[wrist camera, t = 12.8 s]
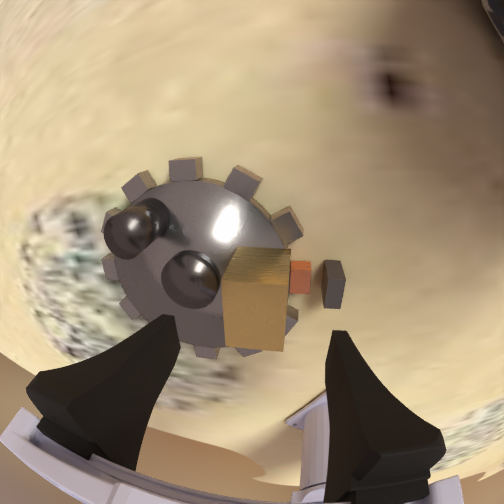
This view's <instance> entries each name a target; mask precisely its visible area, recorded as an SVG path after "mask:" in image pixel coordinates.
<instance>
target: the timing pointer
mask: <svg viewBox="0 0 504 504" xmlns="http://www.w3.org/2000/svg"><path fill="white" fill-rule="evenodd" d="M345 281H346V278H345V275H344V272H343V268H342V265H341V261H335V260H325V263H324V271H323V279H322V287H321V288H322V296H323V305H324V308H330V309H340V308H341V303H342V298H343V292H344V287H345Z"/></svg>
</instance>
